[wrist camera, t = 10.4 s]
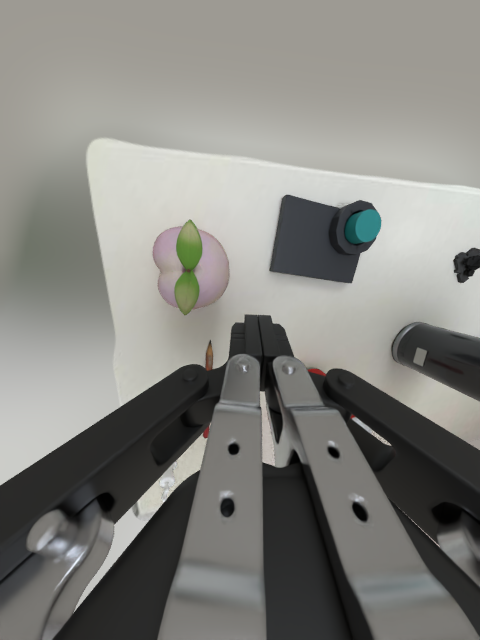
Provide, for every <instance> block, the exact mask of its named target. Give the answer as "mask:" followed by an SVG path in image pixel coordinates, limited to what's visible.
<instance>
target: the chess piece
mask: <svg viewBox="0 0 480 640" xmlns="http://www.w3.org/2000/svg"><path fill="white" fill-rule="evenodd" d="M176 466H177V461H175V462H174V463H173V464H172V465H171V466H170V467H169V468H168V469H167V470H166V471H165V472H164V474H163V475H162V477H161V479H160V482H159V485H160V487H162V488H164V492H163V494H162V497H161V499H162V501H166V499H167V493H168V491H169V487H171V486H172V485H173V484H174V482H175V478H174V474H173V470H174V469H175V468H176Z"/></svg>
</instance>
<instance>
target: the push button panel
mask: <svg viewBox="0 0 480 640" xmlns="http://www.w3.org/2000/svg"><path fill="white" fill-rule="evenodd" d="M368 209H373V210H375V211H377V210H376V209H375V208H374V206H373V205H372V203H369V202H365V201H362V200H359V201H356V202H354V203H352V204H349V205H347V206H345V207H342V208H336V207H332V206H328V205H325V204H321V203H317V202H313V201H309V200H306V199H302V198H298V197H294V196H290V195H286V196H284V197H283V198H282V204H281V210H280V215H279V221H278V227H277V232H276V238H275V244H274V249H273V255H272V261H271V267H270V271H274V272H280V273H287V274H293V275H299V276H306V277H312V278H319V279H325V280H332V281H338V282H345V283H352V281H353V277H354V274H355V270H356V267H357V264H358V260H359V257H360V253H362V252H364V251H366V250H368V248H369V247H370V246H371V245H372V244H373V242H374V241H375V239H376V237H375V238H374V239H373V240H371V241H369V242H364V243H357V244H352V243H350V242H349V241H348V240H347V239H346V237H345V233H344V229H345V225H346V222H347V220H348V219H349V218H350V217H351V216H352V215H354V214H356V213H359V212H362V211H365V210H368Z"/></svg>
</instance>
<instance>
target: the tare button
mask: <svg viewBox="0 0 480 640" xmlns="http://www.w3.org/2000/svg"><path fill="white" fill-rule="evenodd" d="M380 228H381V218H380V215H379V213H378V212H377V211H375V210H373V209H368V210H365V211H362V212H359V213H356V214H354V215H352V216H351V217H350V218H349V219H348V220H347V222H346V225H345V229H344V233H345V237H346V239H347V240H348V241H349V242H350V243H352V244H357V243H364V242H369V241H371V240H373V239H374V238H375V237H376V236H377V235H378V233H379V231H380Z"/></svg>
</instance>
